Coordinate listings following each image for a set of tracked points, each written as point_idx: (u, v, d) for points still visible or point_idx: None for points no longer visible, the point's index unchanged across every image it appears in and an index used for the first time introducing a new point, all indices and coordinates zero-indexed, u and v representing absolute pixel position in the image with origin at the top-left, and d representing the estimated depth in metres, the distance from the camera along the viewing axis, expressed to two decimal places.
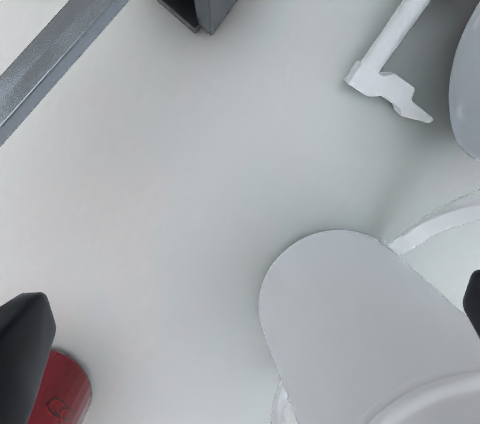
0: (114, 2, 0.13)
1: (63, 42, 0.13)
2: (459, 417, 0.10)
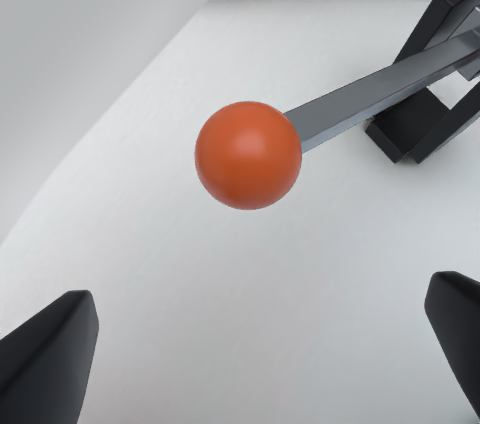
0: (441, 70, 0.14)
1: (405, 79, 0.13)
2: None
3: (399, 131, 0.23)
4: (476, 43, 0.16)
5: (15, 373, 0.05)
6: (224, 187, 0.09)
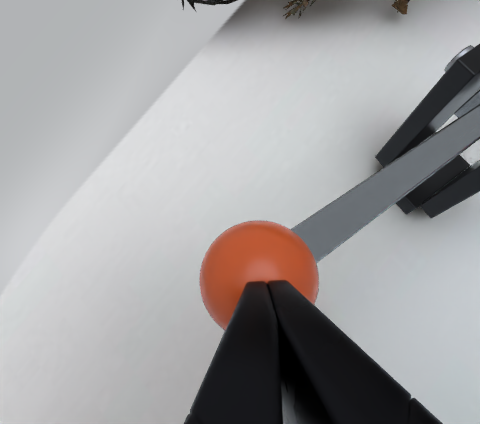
0: (463, 150, 0.13)
1: (426, 166, 0.12)
2: None
3: None
4: None
5: (274, 357, 0.05)
6: None
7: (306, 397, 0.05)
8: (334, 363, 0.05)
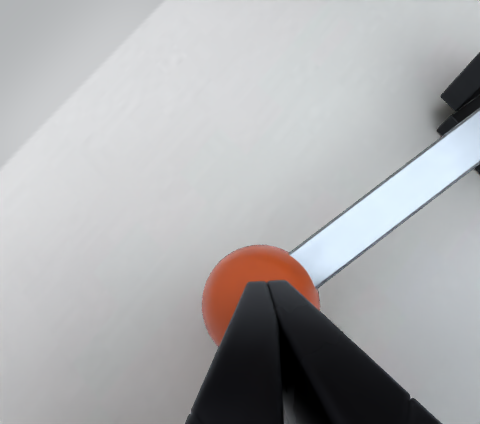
0: None
1: None
2: None
3: None
4: None
5: (275, 356, 0.05)
6: None
7: (305, 398, 0.05)
8: (334, 363, 0.05)
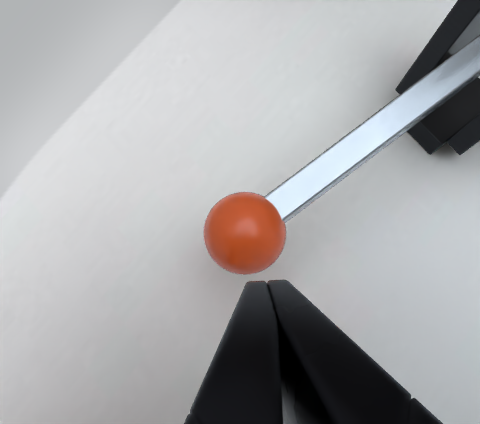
0: (463, 83, 0.13)
1: (407, 114, 0.13)
2: None
3: (436, 116, 0.20)
4: None
5: (274, 357, 0.05)
6: (223, 267, 0.13)
7: (306, 397, 0.05)
8: (334, 363, 0.05)
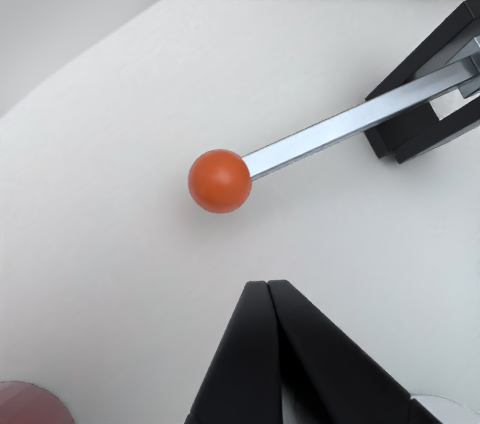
0: (406, 108, 0.17)
1: (360, 121, 0.17)
2: None
3: (390, 129, 0.24)
4: (463, 74, 0.17)
5: (274, 357, 0.05)
6: (198, 203, 0.17)
7: (307, 398, 0.05)
8: (334, 363, 0.05)
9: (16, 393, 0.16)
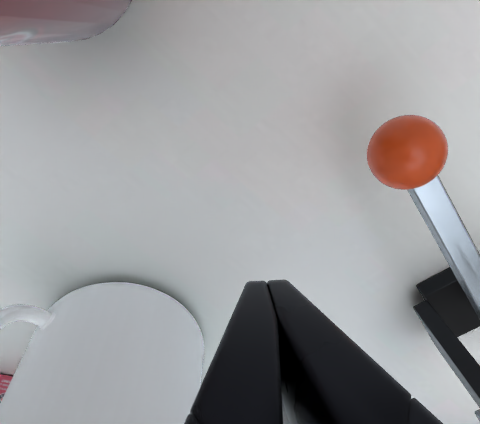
0: None
1: (479, 292, 0.16)
2: None
3: (450, 296, 0.24)
4: None
5: (274, 357, 0.05)
6: (379, 133, 0.14)
7: (307, 397, 0.05)
8: (334, 363, 0.05)
9: None
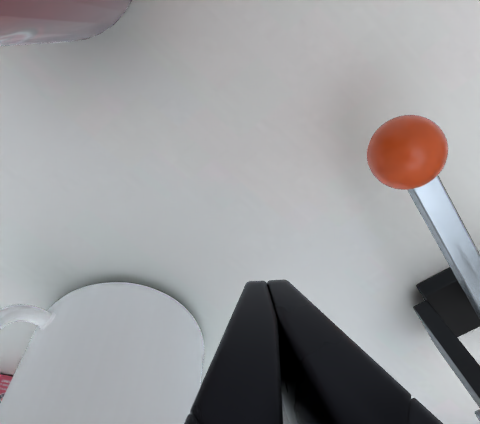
0: None
1: (479, 292, 0.16)
2: None
3: (450, 296, 0.24)
4: None
5: (274, 357, 0.05)
6: (379, 133, 0.14)
7: (307, 397, 0.05)
8: (334, 363, 0.05)
9: None
